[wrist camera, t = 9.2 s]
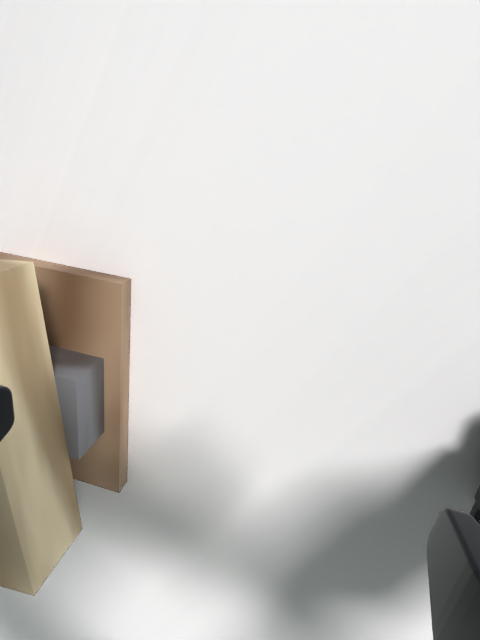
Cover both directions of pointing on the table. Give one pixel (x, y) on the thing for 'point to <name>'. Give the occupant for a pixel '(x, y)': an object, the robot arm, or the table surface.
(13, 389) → the beam
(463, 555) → the robot arm
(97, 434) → the fulcrum stand
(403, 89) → the table surface
